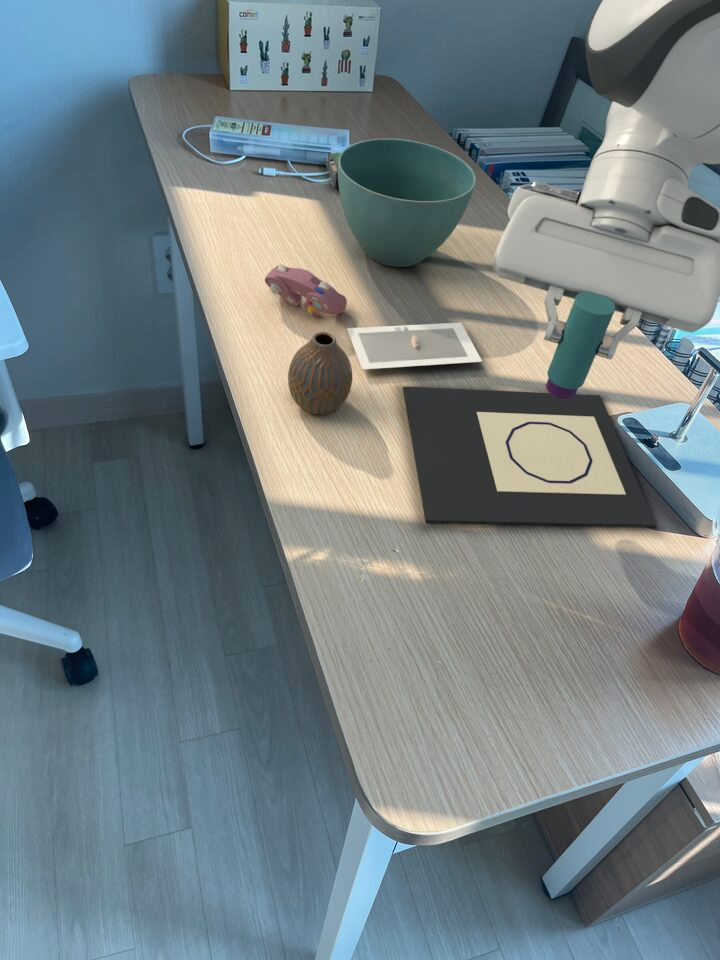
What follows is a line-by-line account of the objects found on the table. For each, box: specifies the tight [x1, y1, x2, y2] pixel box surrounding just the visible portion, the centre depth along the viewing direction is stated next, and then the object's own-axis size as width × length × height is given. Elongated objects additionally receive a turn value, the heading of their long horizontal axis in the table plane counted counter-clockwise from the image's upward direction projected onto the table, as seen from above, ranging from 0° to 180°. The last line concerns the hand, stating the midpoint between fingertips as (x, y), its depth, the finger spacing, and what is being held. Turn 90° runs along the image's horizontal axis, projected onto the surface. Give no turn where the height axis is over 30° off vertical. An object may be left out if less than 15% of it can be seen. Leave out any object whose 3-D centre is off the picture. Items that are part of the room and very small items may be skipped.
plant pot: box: [338, 138, 477, 268], centre depth 103 cm, size 18×18×12 cm
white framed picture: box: [346, 322, 483, 370], centre depth 92 cm, size 8×15×2 cm, turn 104°
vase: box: [287, 331, 353, 415], centre depth 81 cm, size 7×7×9 cm
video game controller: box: [264, 263, 348, 316], centre depth 94 cm, size 10×5×7 cm, turn 62°
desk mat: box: [402, 386, 657, 528], centre depth 82 cm, size 24×20×1 cm
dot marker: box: [545, 292, 616, 399], centre depth 71 cm, size 4×4×10 cm
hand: (578, 348), depth 70 cm, fingers closed on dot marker, 3 cm apart
